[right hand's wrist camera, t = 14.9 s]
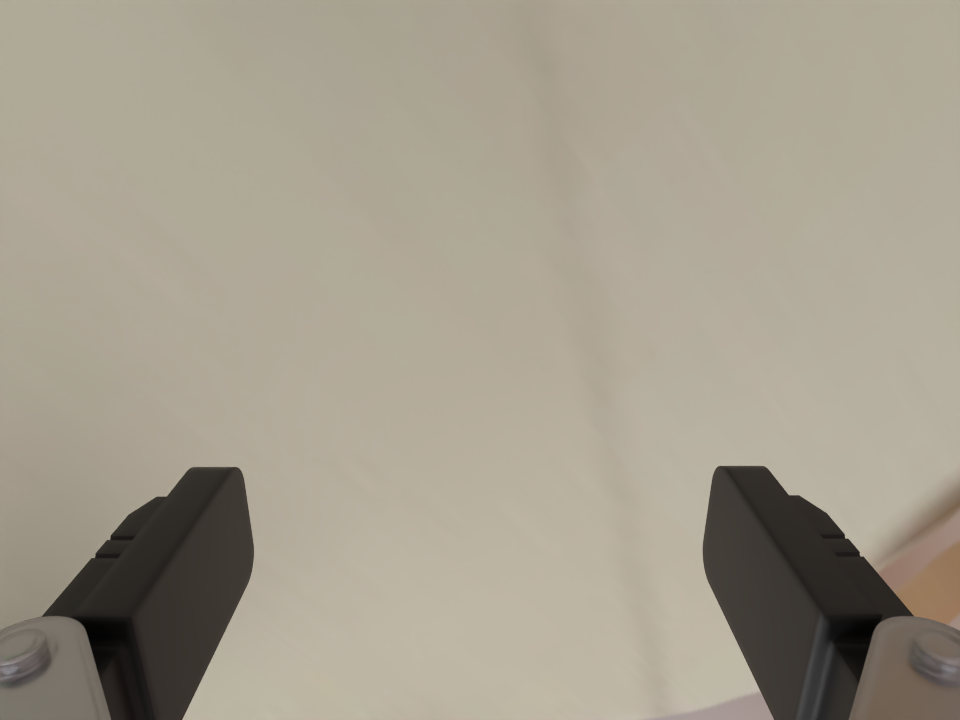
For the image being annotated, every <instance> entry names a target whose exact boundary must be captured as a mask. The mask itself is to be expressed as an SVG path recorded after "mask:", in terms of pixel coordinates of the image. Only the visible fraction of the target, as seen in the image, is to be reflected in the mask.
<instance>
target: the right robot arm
mask: <svg viewBox="0 0 960 720" xmlns="http://www.w3.org/2000/svg"><path fill="white" fill-rule="evenodd" d="M253 559H254V545H253V538H252V531H251V524H250V517H249V510H248V503H247V496H246V489H245V483H244V477H243V474H242V472H241V470H240V469H239V468H237V467H192V468H190V469H189V470H188V471H187V472H186V473H185V475H184V476H183V477H182V478H181V480H180V481H179V482H178V483H177V485H176V486H175V487H174V488H173V490H172V491H171V492H170V493H169V495H168V496H167V497H156V498H154V499H153V500H151V501H149V502H148V503H146V504H145V505H143V506H142V507H140V508H139V509H137V510H136V511H134V512H132V513H131V514H129V515H128V516H127V518H126V519H125V520H124V521H123V522H122V523H121V525H120V526H119V527H118V528H117V529H116V530H115V532H114V533H113V534H112V535H111V539H110V540H107V541H106V542H105V543H104V544H103V546H102V547H101V548H100V549H99V550H98V551H97V553H96V556H95V558H91V560H90V561H89V562H88V563H87V564H86V565H85V567H84V568H83V569H82V570H81V571H80V572H79V574H78V575H77V576H76V577H75V578H74V580H73V581H72V582H71V583H70V584H69V585H68V587H67V588H66V589H65V590H64V591H63V592H62V594H61V595H60V596H59V597H58V598H57V599H56V601H55V602H54V603H53V604H52V605H51V606H50V608H49V609H48V610H47V611H46V612H45V613H44V615H43V616H42V617H39V618H34V619H30V620H26V621H23V622H20V623H17V624H14V625H12V626H9V627H7V628H4V629H2V630H0V720H182V719H183V717H184V715H185V713H186V711H187V709H188V706H189V704H190V702H191V700H192V698H193V696H194V694H195V692H196V690H197V688H198V686H199V684H200V682H201V680H202V678H203V675H204V673H205V671H206V669H207V667H208V665H209V663H210V661H211V659H212V657H213V655H214V653H215V651H216V649H217V647H218V644H219V642H220V640H221V638H222V636H223V634H224V632H225V630H226V628H227V626H228V624H229V622H230V620H231V618H232V616H233V613H234V611H235V609H236V607H237V605H238V603H239V601H240V599H241V597H242V595H243V593H244V591H245V589H246V587H247V585H248V582H249V579H250V576H251V572H252V567H253ZM703 562H704V568H705V573H706V576H707V579H708V582H709V584H710V586H711V588H712V590H713V593H714V595H715V597H716V599H717V601H718V603H719V605H720V607H721V609H722V611H723V613H724V616H725V618H726V620H727V622H728V624H729V626H730V628H731V630H732V632H733V634H734V636H735V639H736V641H737V643H738V645H739V647H740V649H741V651H742V653H743V655H744V657H745V659H746V662H747V664H748V666H749V668H750V670H751V672H752V674H753V676H754V678H755V680H756V682H757V685H758V687H759V689H760V691H761V693H762V695H763V697H764V699H765V701H766V703H767V705H768V708H769V710H770V712H771V714H772V716H773V718H774V720H960V630H958V629H956V628H953V627H951V626H948V625H946V624H943V623H940V622H937V621H934V620H930V619H926V618H921V617H914V616H913V615H912V613H911V612H910V611H909V610H908V609H907V607H906V606H905V605H904V604H903V603H902V602H901V600H900V599H899V598H898V597H897V596H896V594H895V593H894V592H893V591H892V590H891V589H890V587H889V586H888V585H887V584H886V583H885V581H884V580H883V579H882V578H881V577H880V576H879V574H878V573H877V572H876V571H875V570H874V568H873V567H872V566H871V565H870V564H869V563H868V561H867V560H866V559H865V558H864V557H860V552H859V551H858V550H857V548H856V547H855V546H854V545H853V544H852V543H851V541H850V540H849V539H845V534H844V533H843V532H842V531H841V530H840V528H839V527H838V526H837V525H836V524H835V522H834V521H833V520H832V519H831V518H830V517H829V515H828V514H827V513H825V512H824V511H822V510H821V509H819V508H818V507H816V506H815V505H813V504H811V503H810V502H808V501H807V500H805V499H804V498H802V497H801V496H799V495H788V494H787V492H786V491H785V490H784V489H783V487H782V486H781V485H780V484H779V482H778V481H777V480H776V478H775V477H774V476H773V475H772V473H771V472H770V471H769V470H768V469H767V468H766V467H764V466H718V467H717V468H716V470H715V472H714V474H713V478H712V484H711V491H710V498H709V505H708V512H707V519H706V526H705V533H704V540H703Z"/></svg>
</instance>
